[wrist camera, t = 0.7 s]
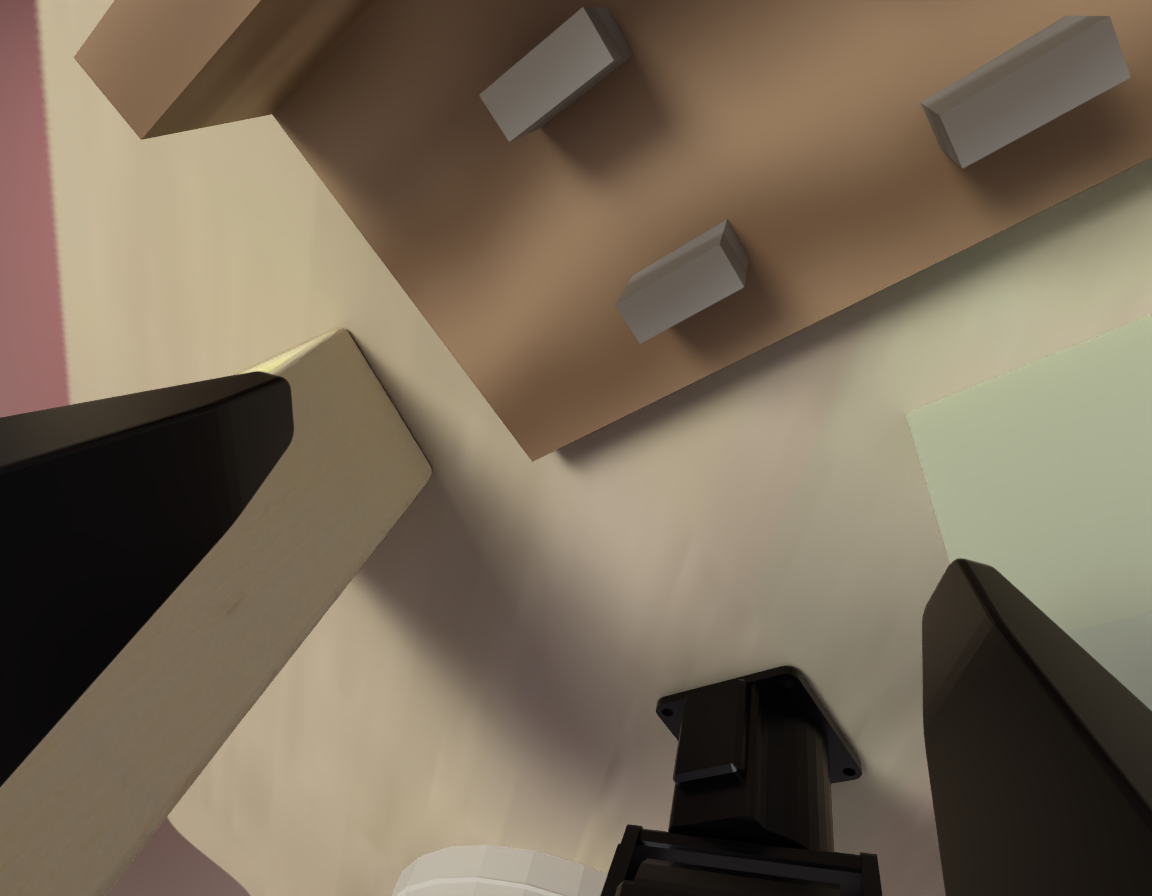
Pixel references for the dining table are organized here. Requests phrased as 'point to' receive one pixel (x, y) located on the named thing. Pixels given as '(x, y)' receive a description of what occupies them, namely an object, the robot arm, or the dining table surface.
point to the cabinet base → (650, 157)
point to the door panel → (1058, 489)
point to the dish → (497, 874)
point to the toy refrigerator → (215, 634)
